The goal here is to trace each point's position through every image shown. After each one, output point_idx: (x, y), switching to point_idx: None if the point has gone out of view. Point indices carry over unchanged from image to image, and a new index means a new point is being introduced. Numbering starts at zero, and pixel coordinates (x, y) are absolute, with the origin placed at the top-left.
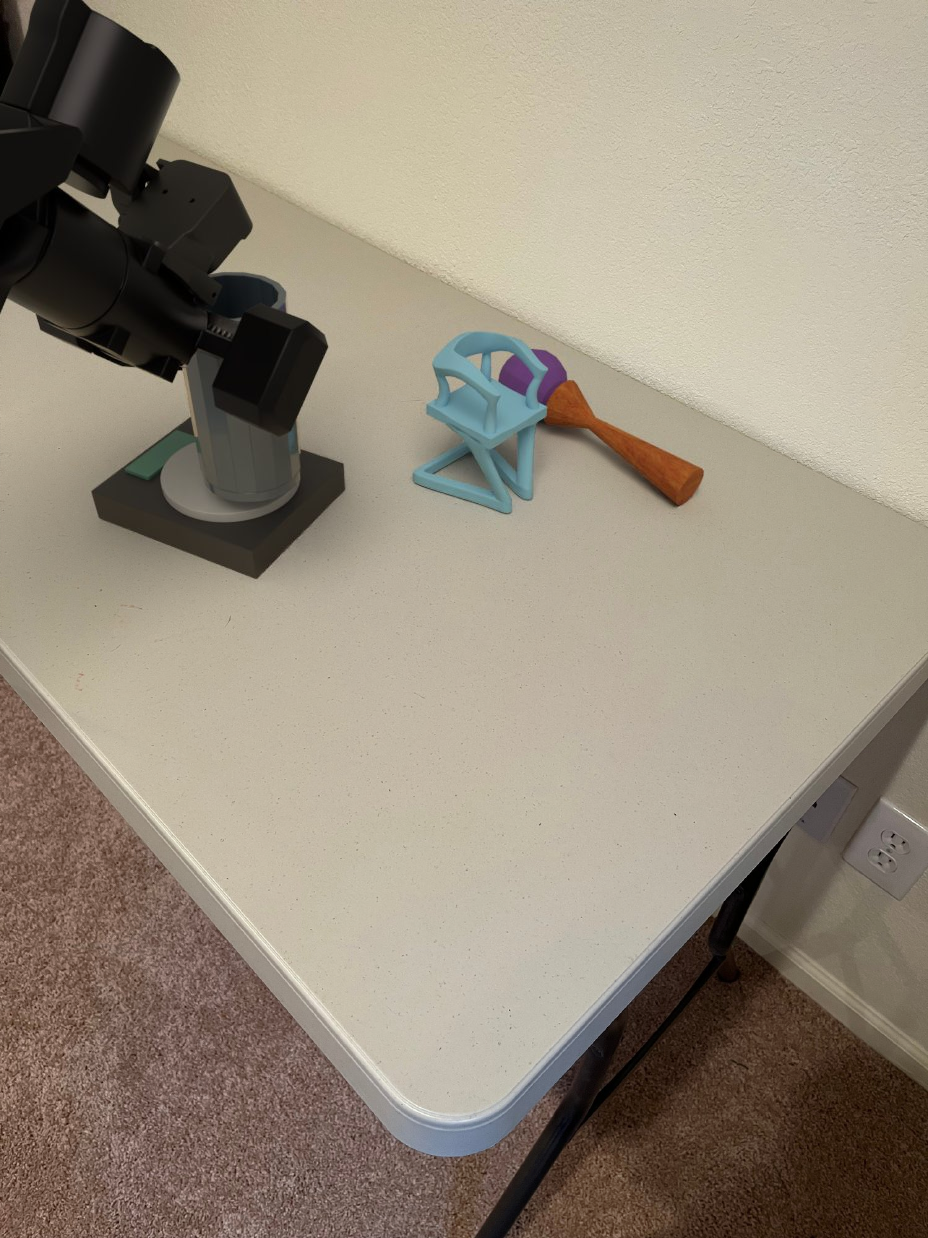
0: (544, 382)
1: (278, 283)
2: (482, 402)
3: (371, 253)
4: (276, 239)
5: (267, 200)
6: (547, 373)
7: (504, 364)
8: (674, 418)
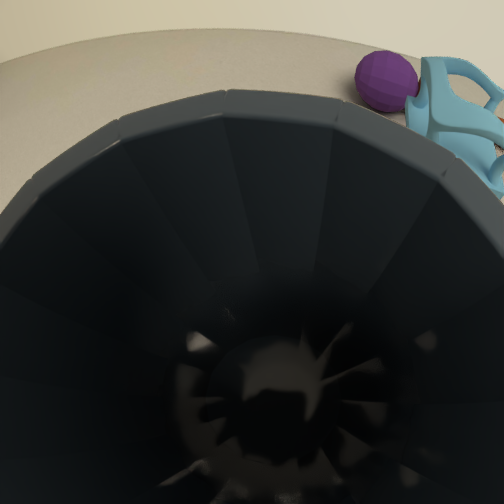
0: (413, 80)
1: (350, 106)
2: (446, 135)
3: (145, 36)
4: (79, 62)
5: (65, 49)
6: (411, 72)
7: (362, 70)
8: (453, 80)
